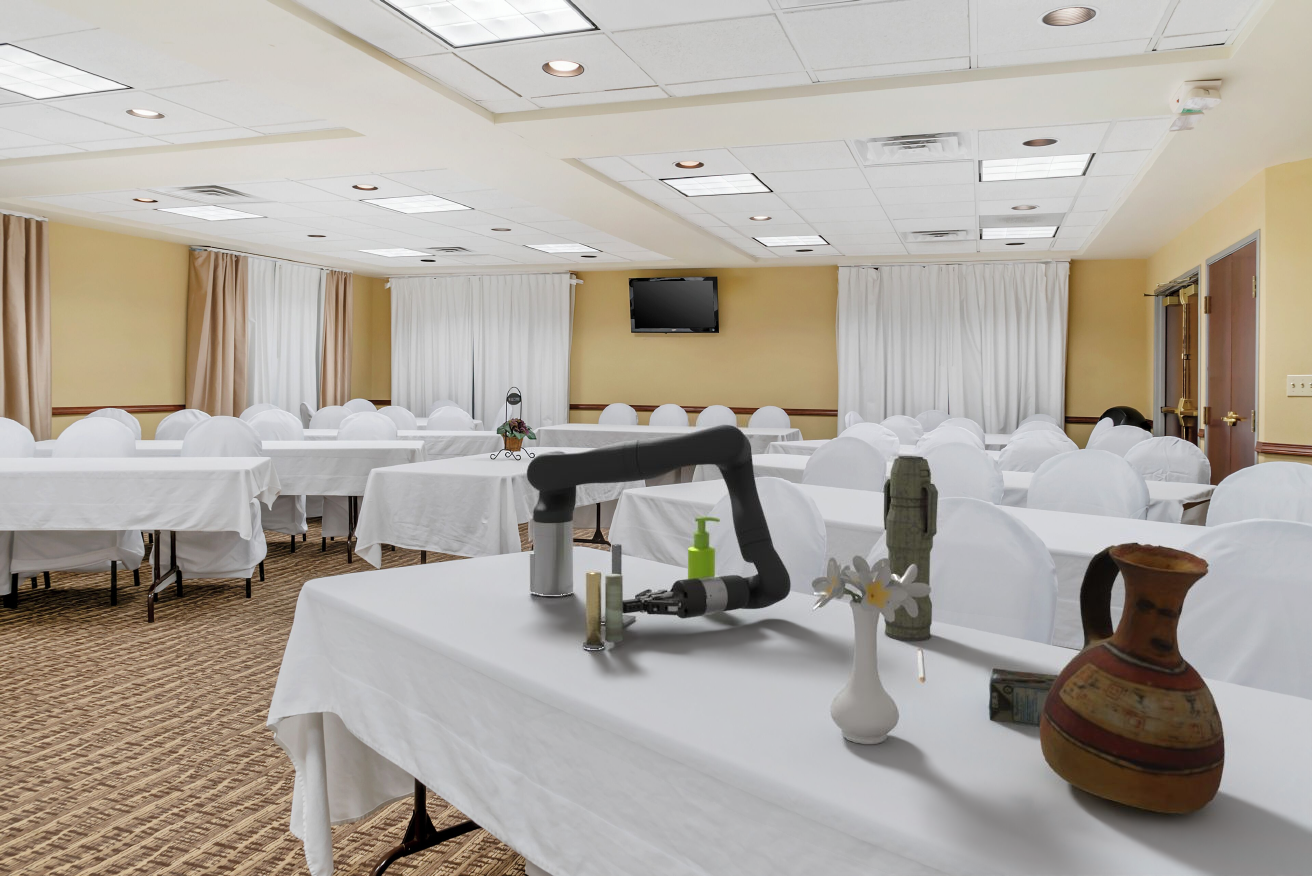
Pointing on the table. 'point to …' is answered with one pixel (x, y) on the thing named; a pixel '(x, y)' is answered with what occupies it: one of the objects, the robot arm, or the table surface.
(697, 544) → the soap dispenser
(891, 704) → the flower vase
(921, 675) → the pencil
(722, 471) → the robot arm
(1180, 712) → the ceramic pitcher
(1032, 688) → the beverage carton
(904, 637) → the thermos
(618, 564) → the hinge post
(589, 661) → the table surface
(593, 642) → the post
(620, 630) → the gate
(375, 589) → the table surface
